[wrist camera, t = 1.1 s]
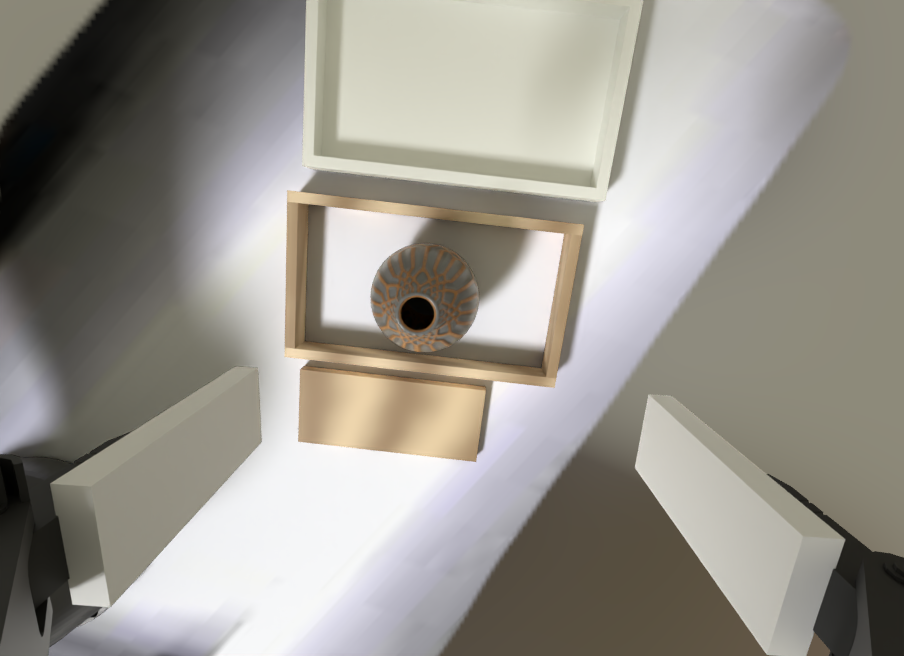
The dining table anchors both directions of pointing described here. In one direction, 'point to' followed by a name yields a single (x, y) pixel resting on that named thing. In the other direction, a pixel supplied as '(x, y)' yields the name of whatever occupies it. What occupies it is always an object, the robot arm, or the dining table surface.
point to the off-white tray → (469, 91)
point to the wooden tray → (411, 361)
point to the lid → (390, 413)
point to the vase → (424, 297)
